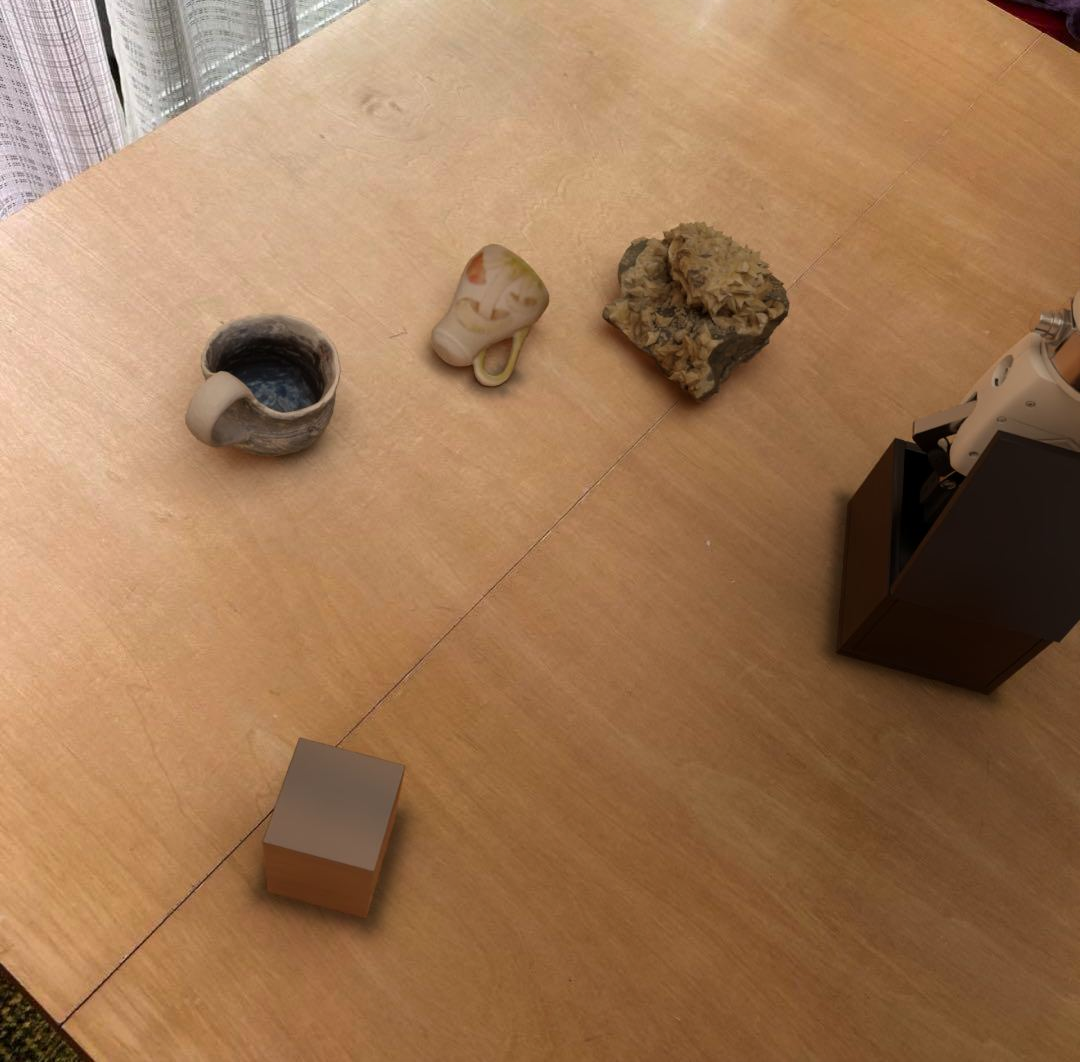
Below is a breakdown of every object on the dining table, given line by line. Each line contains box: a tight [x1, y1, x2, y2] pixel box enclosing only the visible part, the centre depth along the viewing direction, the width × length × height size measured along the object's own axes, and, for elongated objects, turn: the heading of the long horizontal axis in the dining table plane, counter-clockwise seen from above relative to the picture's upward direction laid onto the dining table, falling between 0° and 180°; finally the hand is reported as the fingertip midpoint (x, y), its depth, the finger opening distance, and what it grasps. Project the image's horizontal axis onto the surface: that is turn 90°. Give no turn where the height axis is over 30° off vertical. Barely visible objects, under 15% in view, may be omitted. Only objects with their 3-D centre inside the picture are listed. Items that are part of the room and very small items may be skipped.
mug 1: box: [184, 312, 342, 458], centre depth 81 cm, size 10×12×10 cm
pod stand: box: [262, 737, 406, 919], centre depth 66 cm, size 6×6×10 cm
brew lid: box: [890, 430, 1080, 644], centre depth 71 cm, size 14×12×1 cm
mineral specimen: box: [601, 221, 791, 404], centre depth 93 cm, size 14×13×10 cm
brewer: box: [836, 437, 1054, 695], centre depth 84 cm, size 14×12×9 cm
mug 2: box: [430, 243, 550, 387], centre depth 91 cm, size 8×10×10 cm
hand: (966, 516), depth 82 cm, fingers closed on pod, 4 cm apart
